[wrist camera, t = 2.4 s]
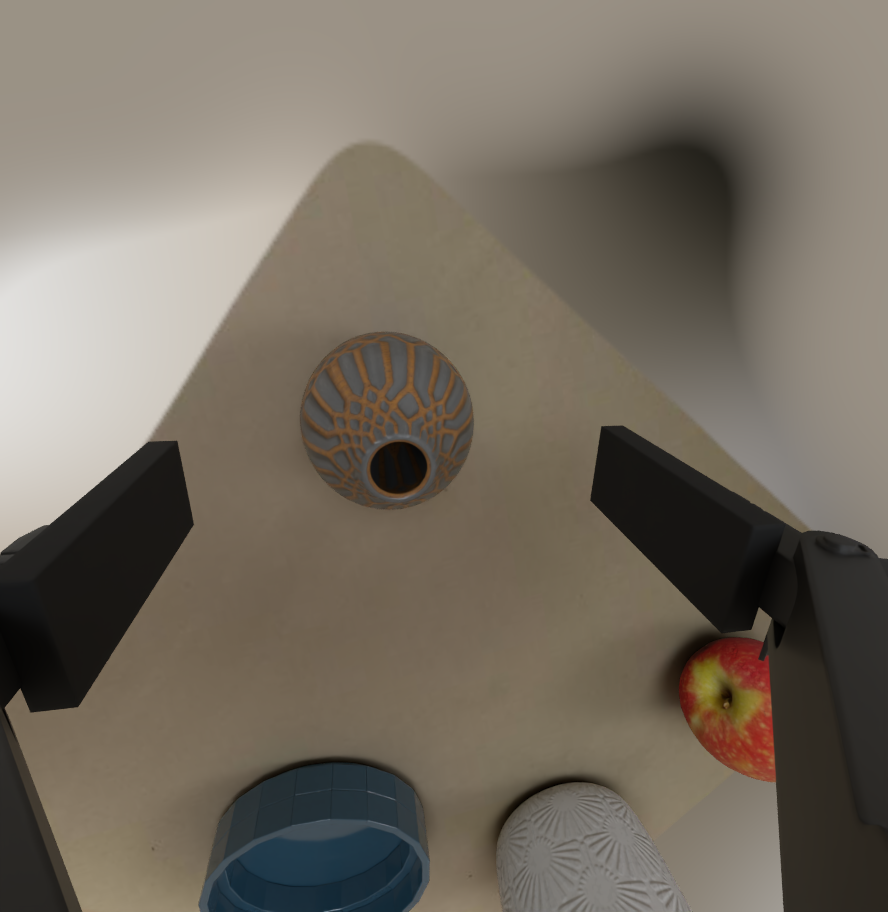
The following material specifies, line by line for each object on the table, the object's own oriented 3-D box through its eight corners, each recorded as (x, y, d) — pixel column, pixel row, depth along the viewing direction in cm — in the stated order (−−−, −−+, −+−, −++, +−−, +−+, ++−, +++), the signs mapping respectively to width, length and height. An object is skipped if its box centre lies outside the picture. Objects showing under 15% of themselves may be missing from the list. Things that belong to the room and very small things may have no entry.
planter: (453, 821, 36) (490, 1035, 26) (592, 738, 35) (686, 926, 25) (527, 883, 41) (583, 1082, 31) (650, 812, 40) (748, 993, 30)
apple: (711, 598, 32) (817, 698, 25) (784, 637, 35) (898, 737, 27) (636, 681, 34) (715, 797, 26) (711, 712, 37) (800, 824, 29)
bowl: (200, 773, 30) (179, 844, 26) (422, 740, 32) (430, 802, 28) (233, 901, 35) (219, 975, 31) (421, 864, 37) (428, 930, 34)
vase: (380, 488, 25) (392, 598, 17) (276, 392, 22) (231, 468, 14) (481, 400, 24) (546, 471, 16) (387, 289, 21) (408, 306, 13)
